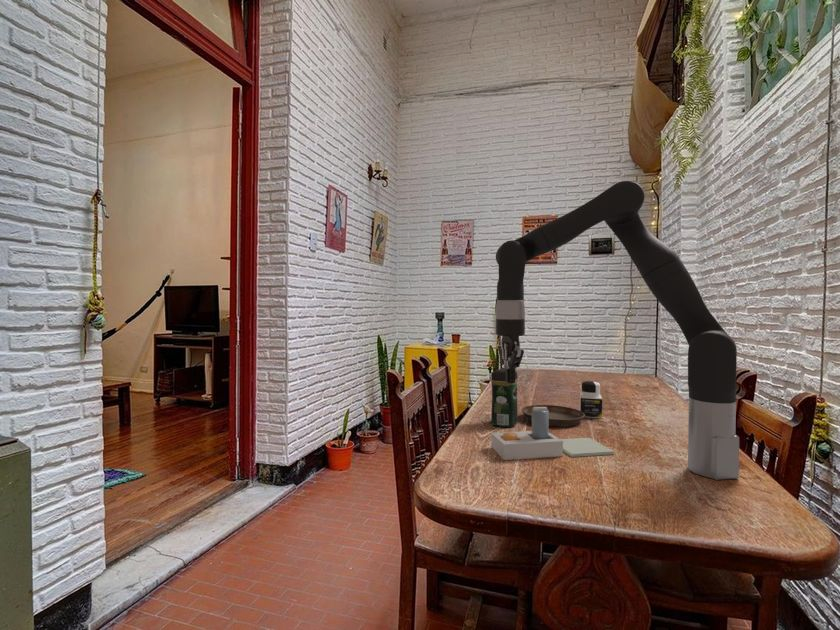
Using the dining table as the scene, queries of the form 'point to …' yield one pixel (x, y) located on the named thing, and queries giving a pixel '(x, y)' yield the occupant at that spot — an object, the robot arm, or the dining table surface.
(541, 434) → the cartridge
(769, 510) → the dining table surface
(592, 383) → the medicine bottle
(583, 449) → the pad
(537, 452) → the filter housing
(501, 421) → the coffee jar
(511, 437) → the orange rounded piece
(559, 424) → the plant saucer
